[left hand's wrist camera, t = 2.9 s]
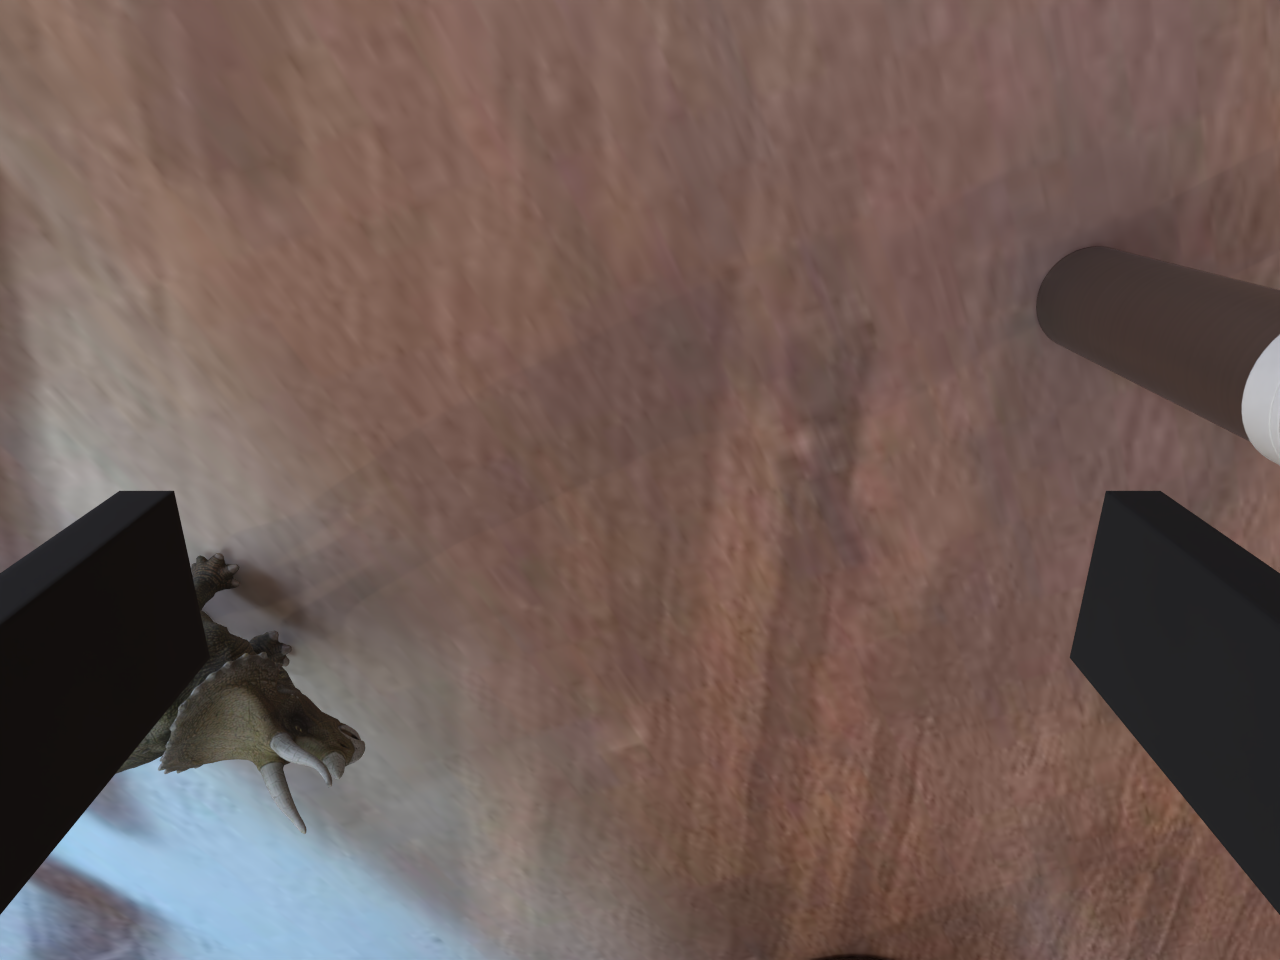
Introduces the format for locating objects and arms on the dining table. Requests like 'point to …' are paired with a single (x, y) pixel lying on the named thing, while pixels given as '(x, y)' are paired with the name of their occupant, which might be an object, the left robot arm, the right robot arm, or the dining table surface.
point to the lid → (1264, 403)
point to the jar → (1162, 326)
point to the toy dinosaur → (246, 709)
